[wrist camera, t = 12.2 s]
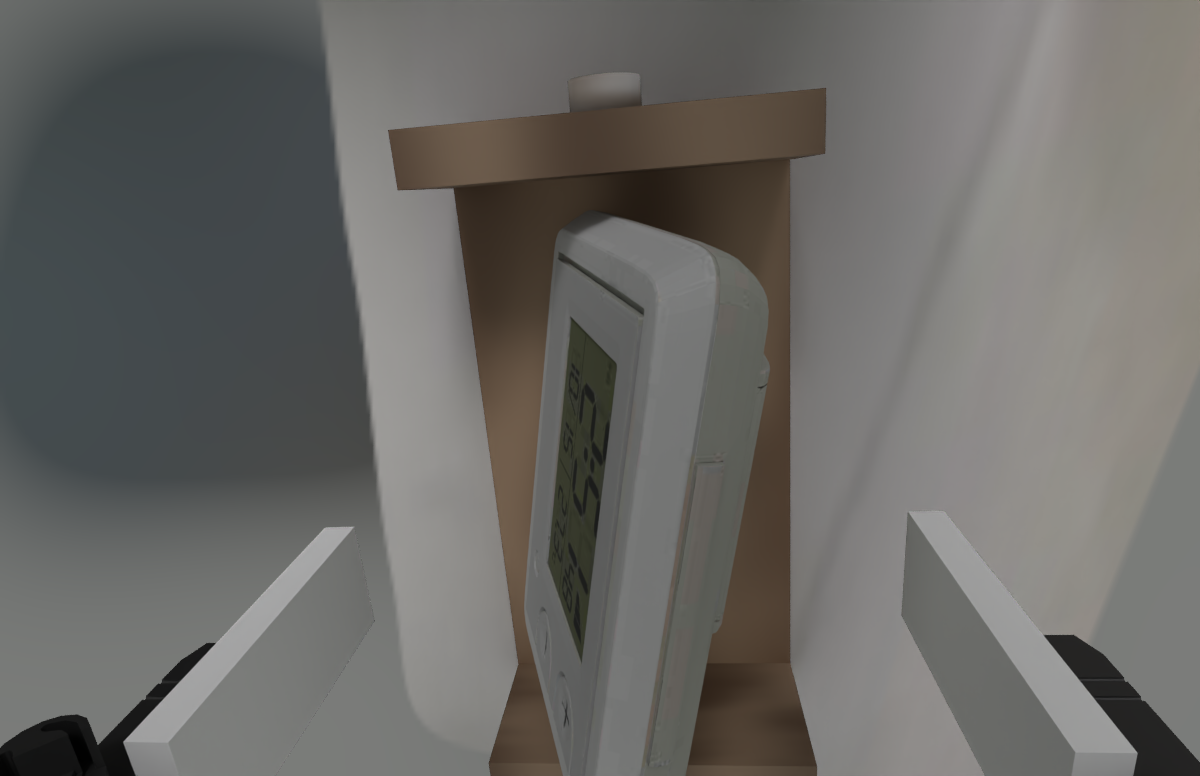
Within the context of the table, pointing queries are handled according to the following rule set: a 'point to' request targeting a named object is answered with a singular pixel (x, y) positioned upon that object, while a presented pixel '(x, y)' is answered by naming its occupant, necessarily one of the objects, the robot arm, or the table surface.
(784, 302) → the walnut holder
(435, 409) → the table surface
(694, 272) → the digital clock
